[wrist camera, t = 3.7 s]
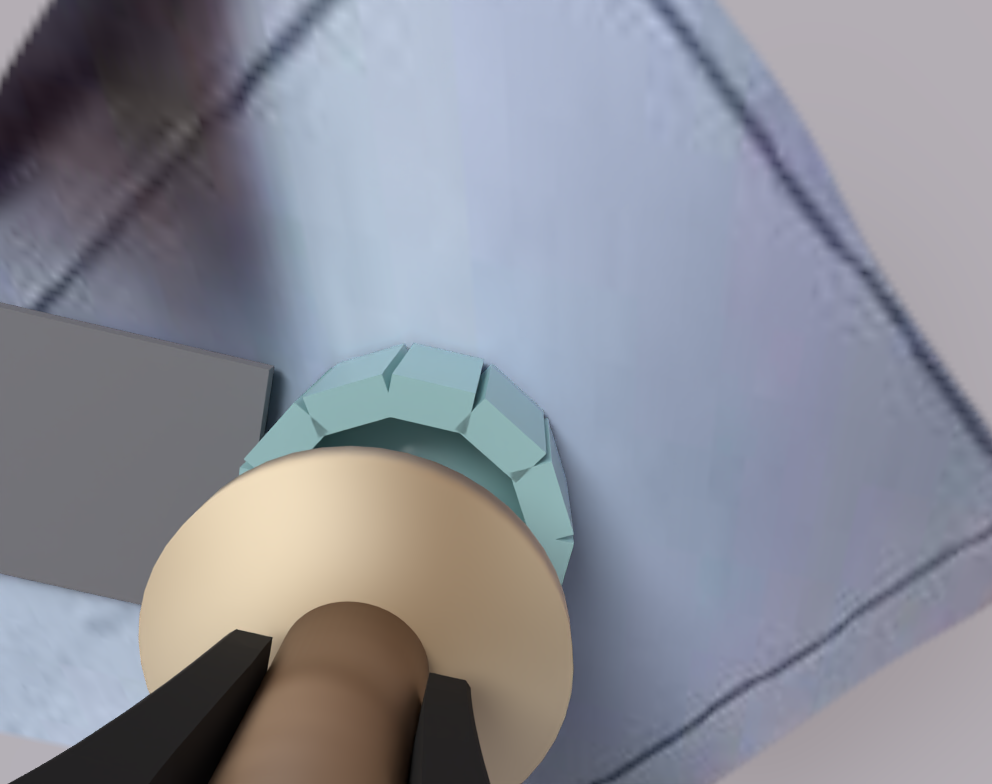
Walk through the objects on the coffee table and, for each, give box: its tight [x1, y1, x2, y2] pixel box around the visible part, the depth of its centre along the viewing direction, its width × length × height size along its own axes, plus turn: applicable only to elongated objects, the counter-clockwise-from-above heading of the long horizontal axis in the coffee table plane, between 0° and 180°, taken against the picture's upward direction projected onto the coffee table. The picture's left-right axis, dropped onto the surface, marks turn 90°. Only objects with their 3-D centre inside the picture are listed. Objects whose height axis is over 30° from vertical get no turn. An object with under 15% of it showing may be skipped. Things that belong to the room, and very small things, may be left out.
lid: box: [139, 446, 573, 784], centre depth 11 cm, size 8×8×5 cm
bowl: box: [239, 343, 574, 586], centre depth 19 cm, size 8×8×3 cm
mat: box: [0, 302, 274, 605], centre depth 20 cm, size 8×8×1 cm
